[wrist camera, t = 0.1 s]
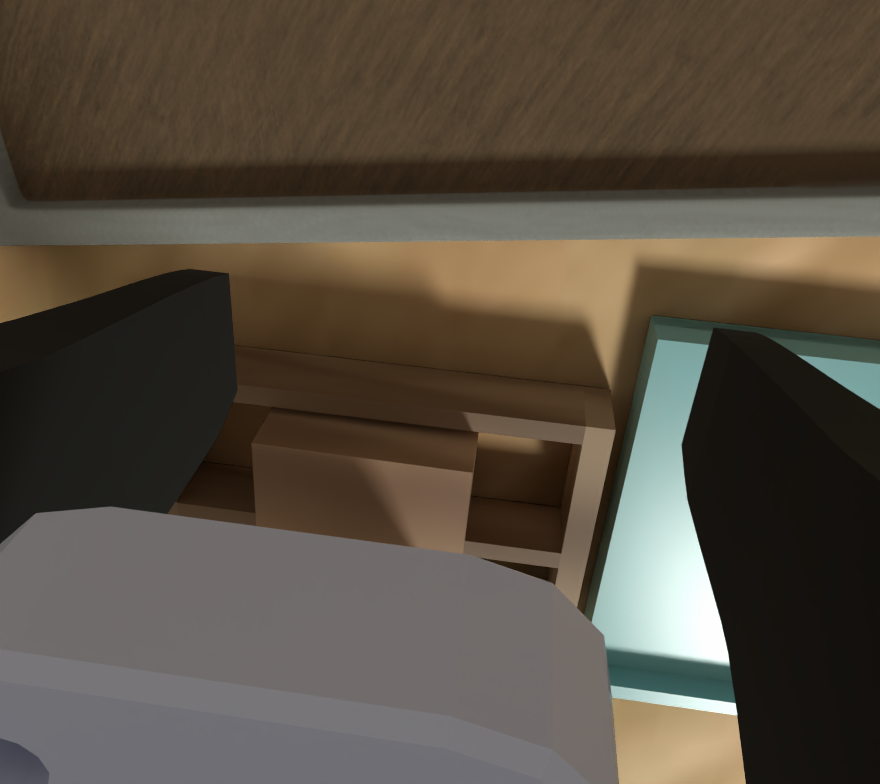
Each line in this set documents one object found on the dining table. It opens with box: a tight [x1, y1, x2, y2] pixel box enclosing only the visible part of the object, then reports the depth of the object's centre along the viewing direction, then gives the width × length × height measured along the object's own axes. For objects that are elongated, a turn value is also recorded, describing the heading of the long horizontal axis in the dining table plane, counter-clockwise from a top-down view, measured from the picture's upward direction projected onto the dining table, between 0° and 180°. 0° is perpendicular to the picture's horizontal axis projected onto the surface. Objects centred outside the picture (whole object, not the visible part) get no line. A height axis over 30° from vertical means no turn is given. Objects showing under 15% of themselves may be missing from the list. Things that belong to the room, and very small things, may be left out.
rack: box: [168, 346, 616, 607], centre depth 25 cm, size 8×14×2 cm, turn 87°
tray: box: [584, 315, 880, 715], centre depth 24 cm, size 14×13×2 cm
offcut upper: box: [251, 407, 479, 554], centre depth 22 cm, size 3×6×2 cm, turn 86°
